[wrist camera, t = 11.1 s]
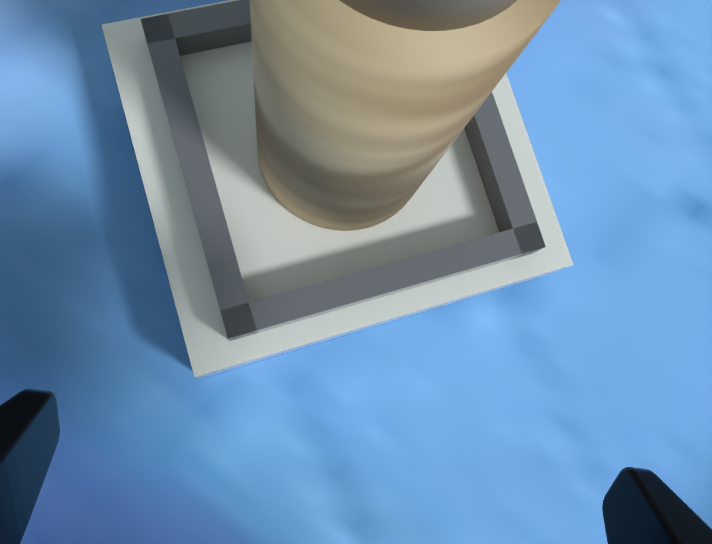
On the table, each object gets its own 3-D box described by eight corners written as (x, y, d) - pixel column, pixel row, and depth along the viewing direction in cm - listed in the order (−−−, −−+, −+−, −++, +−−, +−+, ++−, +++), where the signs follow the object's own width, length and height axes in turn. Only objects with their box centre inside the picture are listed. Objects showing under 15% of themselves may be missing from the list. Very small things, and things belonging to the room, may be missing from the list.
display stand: (202, 377, 19) (190, 377, 16) (117, 57, 21) (92, 5, 18) (545, 275, 22) (589, 258, 19) (448, -9, 23) (474, -66, 20)
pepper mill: (329, 265, 18) (448, 32, 6) (221, 131, 19) (134, -343, 7) (457, 166, 20) (768, -196, 7) (354, 40, 20) (489, -507, 8)
